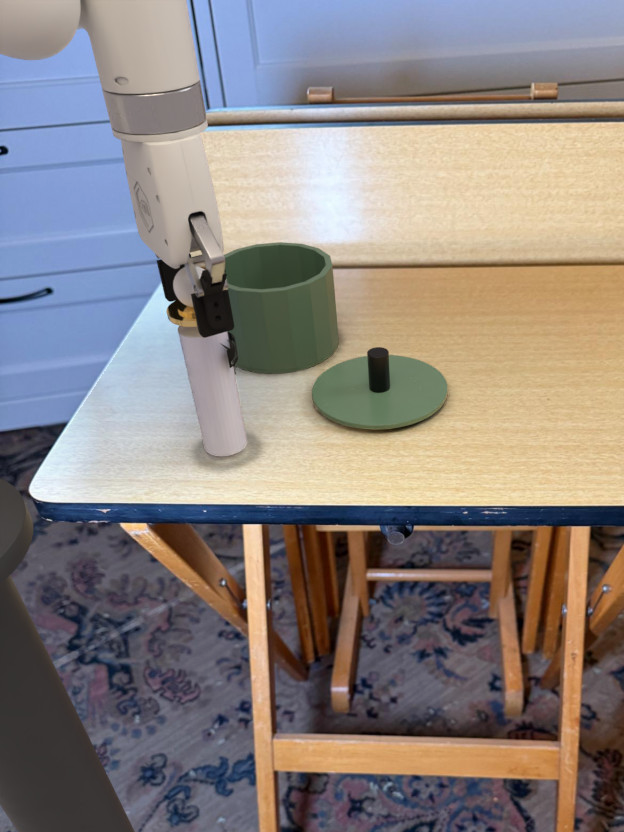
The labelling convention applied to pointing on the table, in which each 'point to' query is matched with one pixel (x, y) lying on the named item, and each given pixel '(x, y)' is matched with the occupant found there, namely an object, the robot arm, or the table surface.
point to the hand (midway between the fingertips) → (199, 313)
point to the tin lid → (379, 391)
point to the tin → (282, 306)
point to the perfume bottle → (209, 374)
